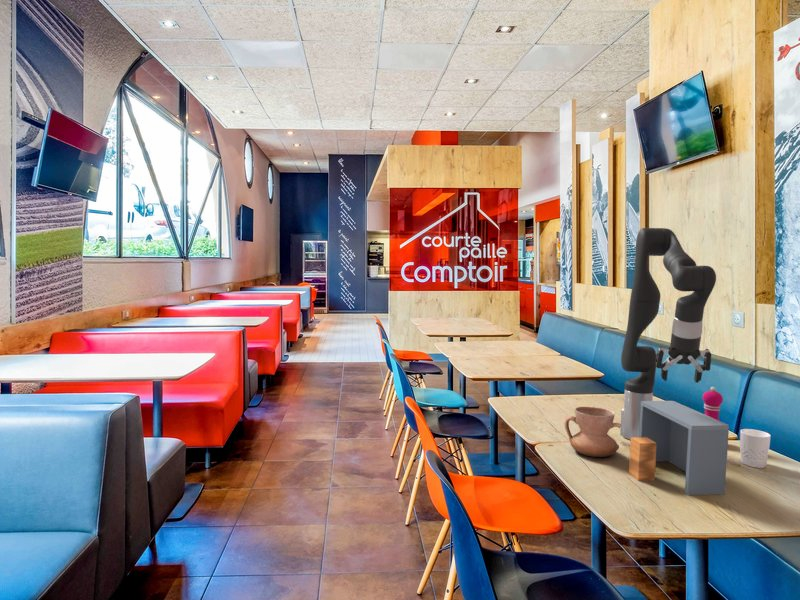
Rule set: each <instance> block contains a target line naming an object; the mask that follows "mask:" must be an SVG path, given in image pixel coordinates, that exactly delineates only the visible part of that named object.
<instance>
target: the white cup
mask: <svg viewBox="0 0 800 600" xmlns="http://www.w3.org/2000/svg"><path fill="white" fill-rule="evenodd" d="M739 431H740V432H739V449H740V450H739V454H740V463H741V464H742V465H745V466H749V467H752V468H756V467H757V469H763V468H766V467H767V463H768V462H767V461H768V458H769V450H770V445H771V439H772V438H771V434H770V433H768V432H767V431H762V430H758V429H752V428H743V429H740V430H739Z"/></svg>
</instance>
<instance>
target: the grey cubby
mask: <svg viewBox="0 0 800 600" xmlns="http://www.w3.org/2000/svg"><path fill="white" fill-rule="evenodd" d="M729 430H730V425H729V424H727V423H725V422H723V421H720V420H719V421H718V420H716V419H714V418H711V417H709V416H707V415H705V413H702V412H700V411H698V410H695V409H693V408H690V407H689V406H686V405H684V404H681V403H679V402H677V401H674V400H653V401H641V410H640V430H639V437H647V438H649V439H650V440H652V441H654V442H655V443H656V462H669V463H671V464H672V465H674V466H676V467H678V469H681V470H682V471H684V472H685V483H684V485H685V487H684V494H685V495H687V496H701V495H704V496H705V495H725V493H726V479H727V462H728V461H727V460H728V446H729V432H730V431H729Z"/></svg>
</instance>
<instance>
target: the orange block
mask: <svg viewBox="0 0 800 600" xmlns="http://www.w3.org/2000/svg"><path fill="white" fill-rule="evenodd" d="M656 462H657V461H656V443H655V442H654V441H652V440H650V439H649V438H647V437H631V440H630V444H629V462H628V463H629V464H628V466H629V468H628V474H629V475H630V477H631V476H632V477H633V478H634V479H635V480H637V481H642V482H643V481H655V476H656Z"/></svg>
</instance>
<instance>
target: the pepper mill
mask: <svg viewBox="0 0 800 600" xmlns="http://www.w3.org/2000/svg"><path fill="white" fill-rule="evenodd" d="M709 389H710V390H708V391H705V392H704V393H703V394H702V401H703V402H704V403H703V408H704V414H705V415H707V416H709V417H711V418H714V419H716V420H718V421H720V419H719V414H720V413H719V412H720V410H721V407H722V406H721V404H722V403H723V400H724V399H723V395H722V394H721V393H720V392H718V391H717V387H715V386H711V387H710V388H709Z"/></svg>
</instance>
